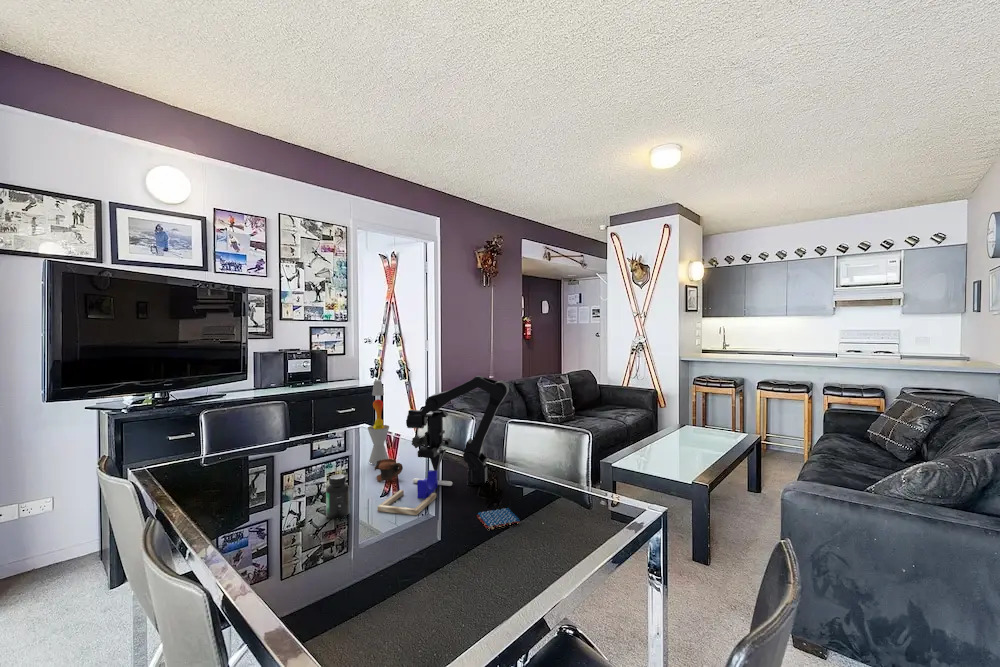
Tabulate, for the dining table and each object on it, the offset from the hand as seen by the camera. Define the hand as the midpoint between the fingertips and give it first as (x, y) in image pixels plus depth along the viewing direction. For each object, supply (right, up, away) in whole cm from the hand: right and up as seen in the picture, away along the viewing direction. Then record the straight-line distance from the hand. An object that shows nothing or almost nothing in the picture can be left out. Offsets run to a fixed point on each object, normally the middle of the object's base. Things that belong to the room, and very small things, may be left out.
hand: (435, 470), depth 174 cm
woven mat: (+23, -5, -35) cm, 43 cm away
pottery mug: (-19, -5, +5) cm, 20 cm away
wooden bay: (-6, -5, -21) cm, 22 cm away
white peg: (-1, -4, -3) cm, 5 cm away
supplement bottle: (-26, -5, -30) cm, 40 cm away
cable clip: (-2, -5, -11) cm, 12 cm away
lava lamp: (-28, -4, +27) cm, 39 cm away
